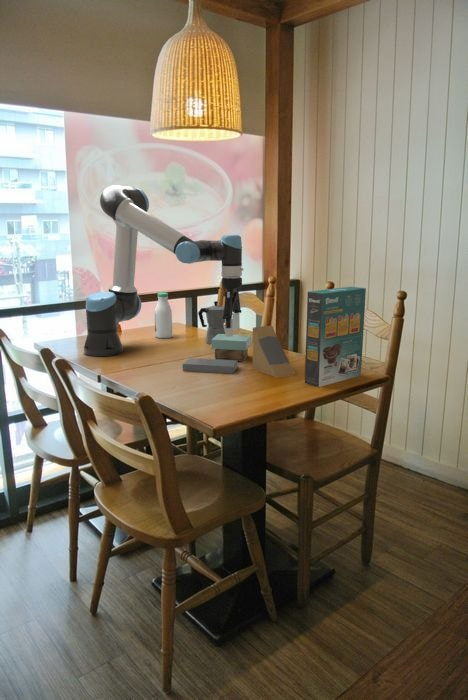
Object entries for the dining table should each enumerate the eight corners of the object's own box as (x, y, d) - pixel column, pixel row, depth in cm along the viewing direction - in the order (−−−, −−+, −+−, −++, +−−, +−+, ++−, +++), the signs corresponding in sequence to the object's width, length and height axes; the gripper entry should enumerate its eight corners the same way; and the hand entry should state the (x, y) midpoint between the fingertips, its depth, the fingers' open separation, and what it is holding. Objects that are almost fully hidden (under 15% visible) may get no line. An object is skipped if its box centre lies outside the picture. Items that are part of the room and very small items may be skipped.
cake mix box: (346, 371, 198) (351, 286, 191) (360, 375, 194) (365, 288, 187) (304, 383, 184) (307, 291, 177) (318, 387, 180) (322, 293, 173)
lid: (211, 348, 212) (211, 339, 212) (218, 342, 223) (218, 333, 222) (246, 350, 210) (246, 341, 209) (251, 344, 221) (251, 335, 220)
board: (182, 370, 198) (182, 363, 198) (189, 364, 207) (189, 357, 206) (232, 373, 195) (232, 366, 194) (237, 367, 204) (237, 360, 203)
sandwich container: (276, 378, 190) (277, 334, 187) (251, 368, 203) (252, 327, 200) (296, 374, 194) (297, 332, 191) (271, 365, 207) (272, 325, 204)
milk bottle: (175, 336, 256) (174, 292, 252) (165, 339, 250) (164, 294, 246) (162, 334, 260) (161, 291, 256) (151, 337, 254) (150, 293, 250)
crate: (215, 359, 214) (215, 341, 213) (220, 354, 223) (220, 337, 221) (243, 361, 212) (243, 343, 211) (247, 355, 221) (247, 338, 219)
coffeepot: (222, 338, 252) (222, 298, 248) (234, 342, 245) (234, 301, 240) (192, 343, 243) (192, 301, 239) (204, 346, 236) (204, 304, 232)
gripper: (235, 280, 198) (235, 339, 202) (247, 274, 222) (247, 327, 226) (214, 280, 199) (215, 339, 204) (229, 274, 223) (229, 326, 228)
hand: (232, 333), depth 215 cm, fingers open, 13 cm apart
